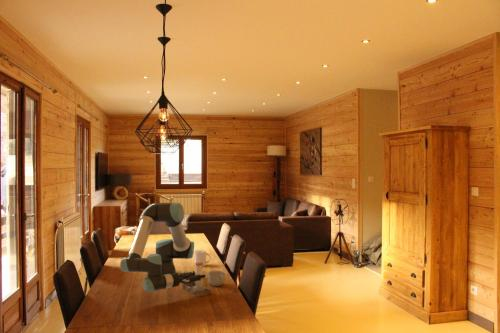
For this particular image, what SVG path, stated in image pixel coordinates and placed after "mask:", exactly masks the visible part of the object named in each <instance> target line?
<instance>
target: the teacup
mask: <svg viewBox="0 0 500 333" xmlns="http://www.w3.org/2000/svg"><path fill="white" fill-rule="evenodd" d="M208 272H209V277H208V278H207V281H208V283H209V285H211V286H212V287H213V286H214V287H220V286H222V285H224V283H225V281H226V271H223V270H211V271H208Z"/></svg>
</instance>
